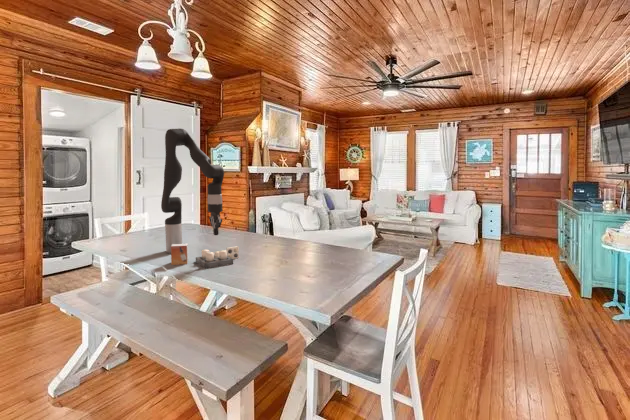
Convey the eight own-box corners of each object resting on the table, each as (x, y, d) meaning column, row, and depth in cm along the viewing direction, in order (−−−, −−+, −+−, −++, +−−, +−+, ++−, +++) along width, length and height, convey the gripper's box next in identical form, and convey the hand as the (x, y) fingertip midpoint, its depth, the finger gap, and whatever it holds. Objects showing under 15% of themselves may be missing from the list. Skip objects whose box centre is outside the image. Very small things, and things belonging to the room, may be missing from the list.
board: (195, 262, 184) (195, 257, 184) (222, 258, 193) (222, 253, 193) (205, 269, 172) (205, 263, 172) (233, 264, 181) (233, 259, 181)
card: (225, 259, 191) (224, 247, 190) (236, 257, 195) (236, 245, 195) (227, 260, 189) (227, 248, 188) (239, 258, 193) (238, 246, 192)
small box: (171, 266, 178) (170, 246, 176) (172, 263, 183) (171, 243, 182) (187, 265, 180) (186, 245, 179) (188, 262, 185) (187, 243, 184)
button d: (213, 259, 188) (213, 251, 187) (220, 258, 190) (220, 250, 189) (216, 261, 185) (215, 253, 184) (222, 260, 187) (222, 252, 186)
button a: (205, 261, 178) (205, 252, 177) (212, 259, 180) (212, 251, 179) (207, 262, 175) (207, 254, 174) (215, 261, 177) (214, 253, 176)
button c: (200, 258, 183) (200, 250, 183) (207, 257, 186) (207, 249, 185) (203, 259, 180) (202, 251, 180) (210, 258, 182) (210, 250, 182)
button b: (218, 259, 182) (218, 251, 181) (225, 257, 184) (224, 250, 184) (221, 260, 179) (220, 252, 178) (227, 259, 181) (227, 251, 181)
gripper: (203, 202, 183) (204, 234, 185) (212, 204, 173) (214, 237, 175) (216, 201, 188) (217, 232, 190) (226, 203, 177) (227, 236, 179)
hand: (216, 235), depth 182 cm, fingers closed
